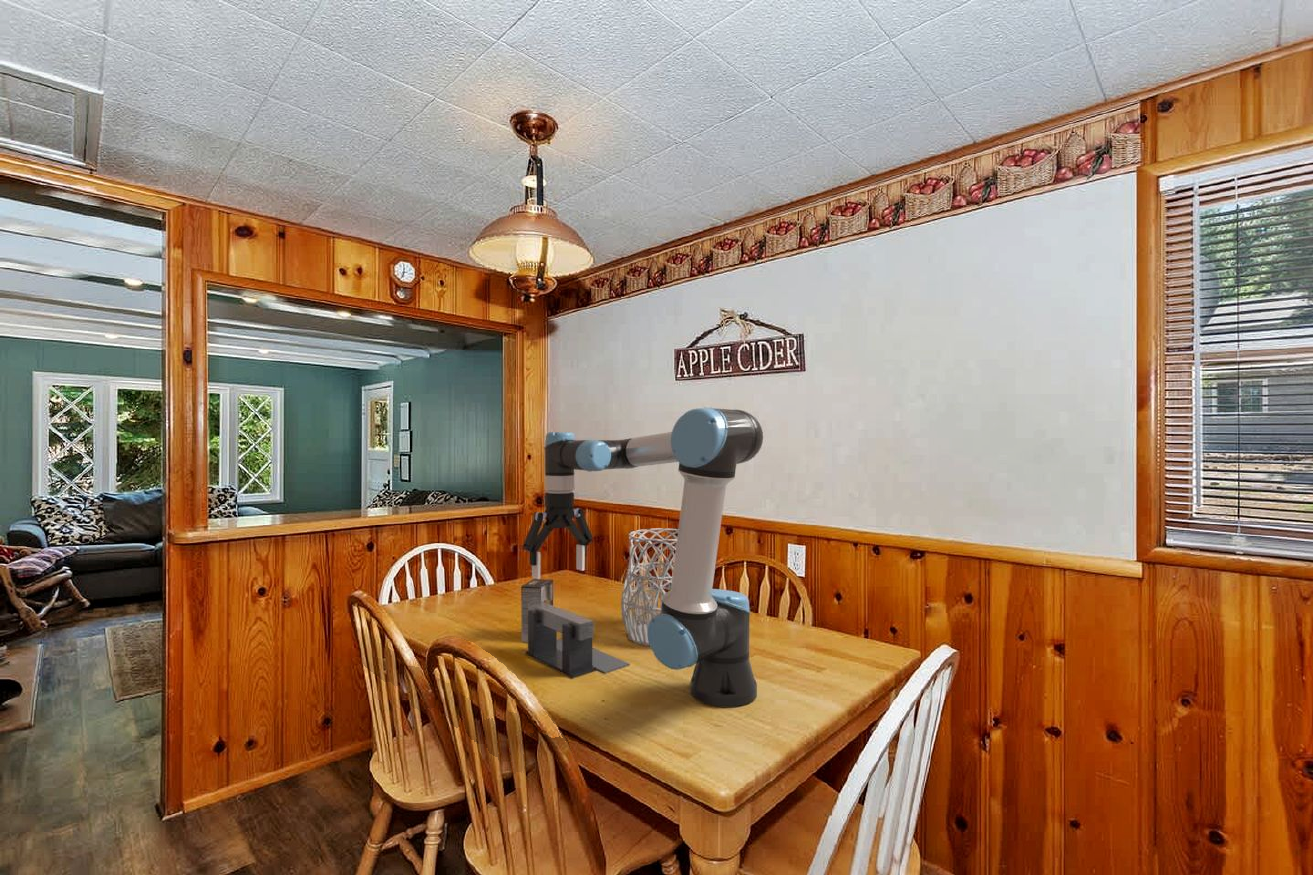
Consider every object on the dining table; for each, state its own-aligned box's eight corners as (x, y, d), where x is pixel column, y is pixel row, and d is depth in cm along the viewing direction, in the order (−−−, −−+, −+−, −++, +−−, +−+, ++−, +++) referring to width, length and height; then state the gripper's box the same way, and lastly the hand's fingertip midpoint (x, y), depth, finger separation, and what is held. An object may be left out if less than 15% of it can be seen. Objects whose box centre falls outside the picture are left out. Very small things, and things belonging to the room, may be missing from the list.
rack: (595, 670, 150) (596, 622, 150) (572, 678, 145) (572, 628, 145) (547, 647, 166) (547, 604, 166) (525, 653, 161) (525, 609, 161)
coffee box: (533, 631, 179) (533, 578, 179) (553, 633, 178) (554, 579, 178) (520, 642, 170) (520, 585, 170) (541, 643, 169) (542, 586, 169)
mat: (629, 665, 154) (629, 663, 154) (605, 673, 148) (605, 671, 148) (566, 638, 174) (566, 636, 174) (543, 644, 169) (543, 643, 169)
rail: (593, 636, 148) (593, 620, 148) (580, 640, 145) (580, 624, 145) (540, 615, 166) (540, 600, 166) (528, 618, 163) (528, 603, 163)
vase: (658, 656, 160) (659, 543, 159) (604, 634, 178) (604, 532, 178) (720, 636, 175) (721, 533, 175) (665, 617, 194) (665, 524, 194)
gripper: (589, 487, 167) (589, 564, 167) (508, 493, 150) (508, 578, 150) (606, 489, 161) (605, 568, 161) (524, 495, 144) (524, 584, 144)
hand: (558, 573), depth 156 cm, fingers open, 13 cm apart
